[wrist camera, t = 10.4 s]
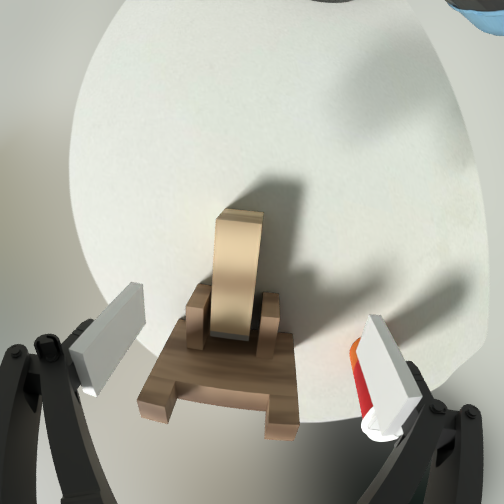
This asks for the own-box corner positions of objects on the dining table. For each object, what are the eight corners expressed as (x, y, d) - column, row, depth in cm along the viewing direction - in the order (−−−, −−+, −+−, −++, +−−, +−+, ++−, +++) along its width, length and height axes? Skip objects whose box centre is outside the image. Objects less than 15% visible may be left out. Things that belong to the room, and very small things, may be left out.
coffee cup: (400, 348, 39) (437, 417, 24) (358, 377, 41) (380, 450, 27) (377, 315, 37) (417, 389, 23) (331, 348, 39) (350, 429, 25)
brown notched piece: (178, 280, 37) (126, 355, 22) (300, 295, 37) (314, 383, 21) (179, 335, 40) (141, 417, 25) (288, 350, 39) (293, 440, 24)
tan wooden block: (225, 208, 34) (215, 219, 28) (263, 212, 33) (261, 224, 28) (218, 310, 38) (210, 336, 32) (251, 314, 38) (248, 341, 32)
